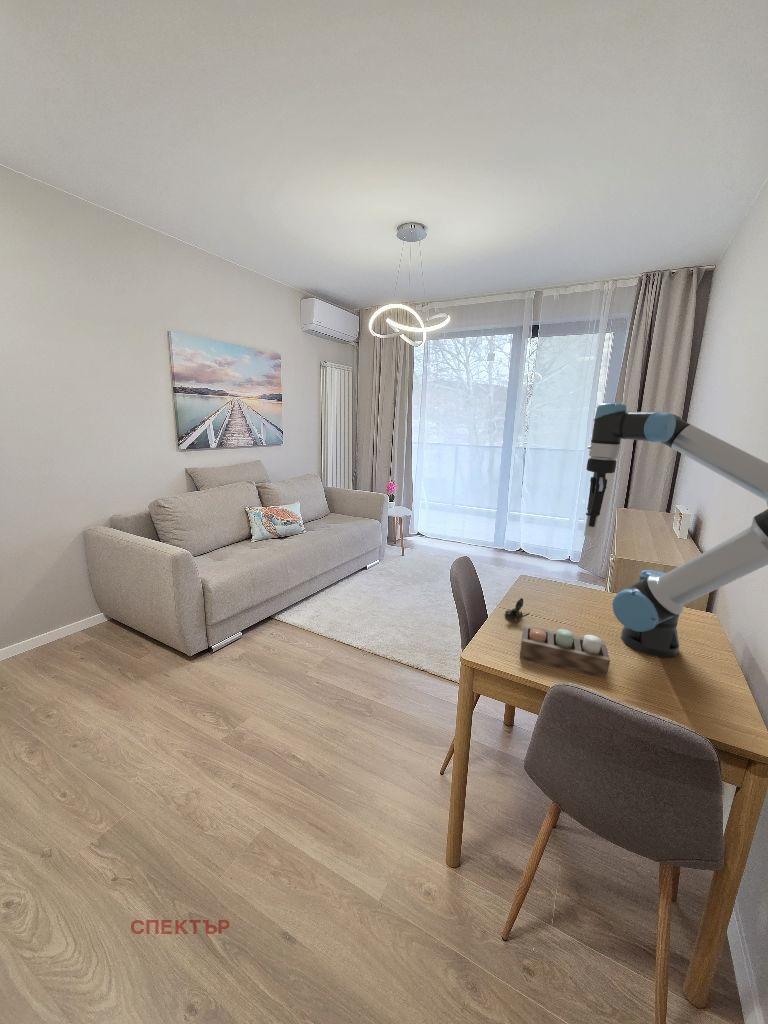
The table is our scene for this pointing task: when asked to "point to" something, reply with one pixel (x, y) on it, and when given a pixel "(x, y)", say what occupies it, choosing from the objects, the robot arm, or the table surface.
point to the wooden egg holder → (564, 654)
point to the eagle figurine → (517, 610)
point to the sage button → (564, 638)
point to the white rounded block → (591, 644)
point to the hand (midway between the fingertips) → (589, 535)
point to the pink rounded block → (537, 635)
